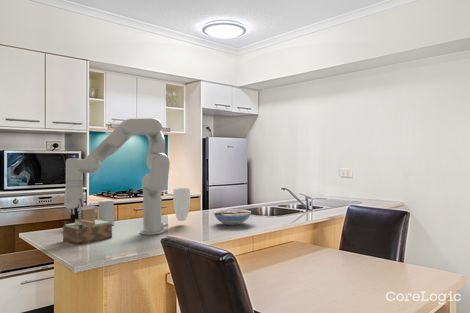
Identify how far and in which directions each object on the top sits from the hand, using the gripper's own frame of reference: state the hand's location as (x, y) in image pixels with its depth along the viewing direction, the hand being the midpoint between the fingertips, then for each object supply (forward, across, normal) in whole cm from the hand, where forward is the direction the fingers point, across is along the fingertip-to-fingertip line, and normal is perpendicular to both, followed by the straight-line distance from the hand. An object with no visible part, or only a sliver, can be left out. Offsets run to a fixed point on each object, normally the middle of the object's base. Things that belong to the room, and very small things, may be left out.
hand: (74, 222), depth 171 cm
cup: (+9, +12, +59) cm, 61 cm away
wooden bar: (+1, +9, 0) cm, 9 cm away
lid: (+2, +1, +6) cm, 7 cm away
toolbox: (+9, +1, +6) cm, 11 cm away
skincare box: (+9, -23, +33) cm, 41 cm away
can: (+9, -27, +23) cm, 37 cm away
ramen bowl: (+9, +35, +78) cm, 86 cm away
